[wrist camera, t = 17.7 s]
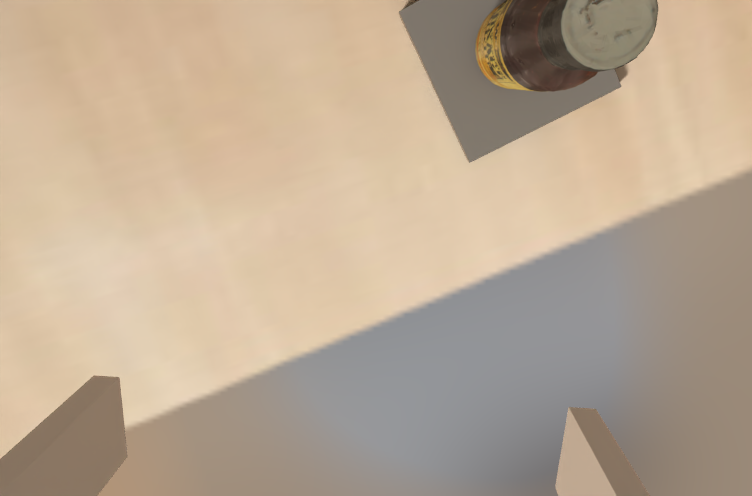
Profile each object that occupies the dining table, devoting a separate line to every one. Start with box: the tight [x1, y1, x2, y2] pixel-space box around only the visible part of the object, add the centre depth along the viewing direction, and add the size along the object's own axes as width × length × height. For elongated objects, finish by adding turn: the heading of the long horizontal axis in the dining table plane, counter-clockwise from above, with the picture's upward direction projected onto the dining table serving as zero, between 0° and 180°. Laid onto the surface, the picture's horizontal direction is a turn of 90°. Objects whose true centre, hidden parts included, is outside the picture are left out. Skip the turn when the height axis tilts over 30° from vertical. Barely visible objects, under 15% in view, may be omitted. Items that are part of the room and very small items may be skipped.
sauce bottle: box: [475, 0, 658, 92], centre depth 31 cm, size 7×6×20 cm
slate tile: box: [399, 0, 621, 163], centre depth 41 cm, size 13×13×1 cm
